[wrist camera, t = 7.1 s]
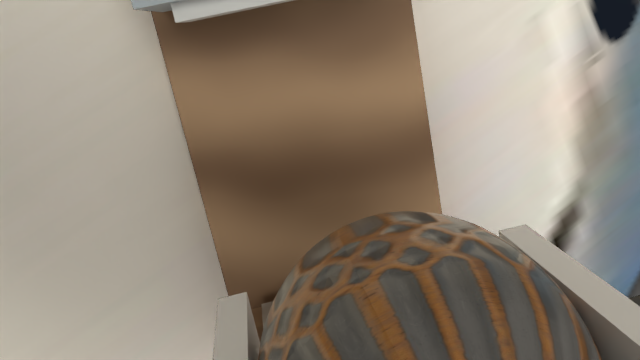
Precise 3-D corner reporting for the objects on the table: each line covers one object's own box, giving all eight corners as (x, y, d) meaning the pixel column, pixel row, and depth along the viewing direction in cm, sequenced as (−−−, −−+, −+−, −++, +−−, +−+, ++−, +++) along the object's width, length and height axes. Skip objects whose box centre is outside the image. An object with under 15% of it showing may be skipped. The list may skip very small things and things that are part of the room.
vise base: (134, -70, 24) (81, -114, 16) (384, -118, 25) (452, -183, 17) (252, 368, 31) (256, 493, 23) (449, 318, 32) (521, 422, 23)
